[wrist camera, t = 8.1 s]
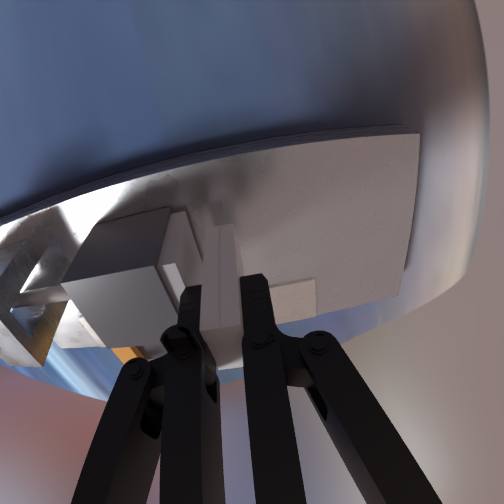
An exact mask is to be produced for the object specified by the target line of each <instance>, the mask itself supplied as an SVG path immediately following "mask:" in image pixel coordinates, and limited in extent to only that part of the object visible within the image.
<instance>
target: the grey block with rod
mask: <svg viewBox="0 0 504 504" xmlns="http://www.w3.org/2000/svg"><path fill="white" fill-rule="evenodd" d="M202 273H203V263H202V260H201V257H200V255H199V252H198V249H197V246H196V243H195V240H194V237H193V233H192V230H191V227H190V224H189V221H188V218H187V215H186V212H185V211H182V212H178V213H172V211H171V208H170V207H166V208H162V209H158V210H153V211H149V212H145V213H141V214H137V215H133V216H129V217H125V218H121V219H118V220H114V221H110V222H106V223H102V224H99V225H95V226H93V227H92V228H91V230H90V231H89V233H88V235H87V236H86V238H85V240H84V242H83V243H82V245H81V247H80V248H79V250H78V252H77V254H76V255H75V257H74V259H73V261H72V263H71V264H70V266H69V268H68V270H67V272H66V274H65V276H64V278H63V280H62V281H61V283H60V284H61V285H56V286H51V287H46V288H41V289H36V290H30V291H25V292H20V293H19V295H18V297H17V298H16V300H15V302H14V304H13V306H12V308H21V307H27V306H34V305H41V304H47V303H54V302H60V301H67V300H72V302H73V303H74V305H75V306H76V307H77V309H78V310H79V312H80V313H81V314H82V316H83V317H84V318H85V320H86V321H87V323H88V324H89V325H90V327H91V328H92V329H93V330H94V332H95V333H96V334H97V336H98V337H99V338H100V339H101V341H102V342H103V343H104V344H105V346H106V347H107V348H108V349H110V348H122V347H134V346H136V347H137V348H138V350H139V351H140V352H141V354H142V355H143V356H144V358H145V359H156V358H159V357H161V356H163V355H165V354H166V353H168V352H167V351H166V349H165V348H164V346H163V345H162V343H161V341H160V338H161V335H162V334H163V332H164V331H165V330H166V329H167V328H169V327H171V326H173V325H176V324H177V320H178V314H179V312H178V311H179V307H180V306H179V303H180V296H181V294H182V292H183V291H184V289H185V287H189V286H195V285H200V284H202Z"/></svg>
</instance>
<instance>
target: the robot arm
mask: <svg viewBox="0 0 504 504" xmlns="http://www.w3.org/2000/svg"><path fill="white" fill-rule="evenodd" d="M179 306H180V307H179V311H178V312H179V314H178V320H177V324H176V325H173V326H171V327H169V328H167V329H166V330H165V331H164V332H163V334H162V335H161V338H160V341H161V343H162V345H163V346H164V348H165V349H166V351H167V352H168V353H166V354H165V355H163V356H161V357H159V358H157V359H154V360H152V361H149V362H148V361H147V360H146V359H144V358H142V357H135V358H132V359H130V360H129V361H127V362H126V363H125V364H124V366H123V367H122V369H121V371H120V373H119V376H118V378H117V380H116V383H115V385H114V387H113V390H112V392H111V395H110V397H109V399H108V402H107V404H106V407H105V409H104V412H103V414H102V417H101V419H100V422H99V425H98V427H97V430H96V433H95V435H94V438H93V440H92V443H91V446H90V448H89V451H88V454H87V457H86V460H85V463H84V465H83V468H82V471H81V474H80V477H79V480H78V484H77V486H76V489H75V492H74V496H73V499H72V502H71V504H146V502H147V498H148V495H149V491H150V487H151V484H152V480H153V477H154V474H155V470H156V467H157V463H158V460H159V456H160V453H161V457H160V504H225V490H224V475H223V458H222V457H223V456H222V436H221V414H220V383H219V379H218V376H217V374H216V365H217V367H218V369H219V370H222V369H230V368H237V367H243V369H244V381H245V393H246V405H247V416H248V427H249V436H250V437H249V438H250V449H251V459H252V468H253V479H254V489H255V499H256V504H307V503H306V497H305V491H304V485H303V479H302V473H301V467H300V461H299V455H298V449H297V443H296V437H295V432H294V425H293V419H292V413H291V408H290V402H289V397H288V390H287V386H295V387H304V388H305V390H306V392H307V394H308V396H309V398H310V400H311V402H312V404H313V406H314V407H315V409H316V411H317V413H318V415H319V417H320V419H321V421H322V423H323V424H324V426H325V428H326V430H327V432H328V433H329V435H330V437H331V439H332V441H333V443H334V445H335V447H336V448H337V450H338V452H339V454H340V456H341V458H342V459H343V461H344V463H345V465H346V467H347V469H348V471H349V472H350V474H351V476H352V478H353V480H354V482H355V483H356V485H357V487H358V489H359V490H360V492H361V494H362V496H363V497H364V500H365V501H366V503H367V504H442V502H441V500H440V499H439V497H438V495H437V494H436V492H435V491H434V489H433V487H432V486H431V484H430V482H429V481H428V480H427V478H426V476H425V474H424V473H423V471H422V470H421V468H420V467H419V465H418V463H417V462H416V460H415V459H414V457H413V455H412V454H411V452H410V451H409V449H408V448H407V446H406V445H405V443H404V441H403V440H402V438H401V436H400V435H399V433H398V432H397V430H396V429H395V427H394V426H393V424H392V423H391V421H390V419H389V418H388V416H387V415H386V414H385V412H384V410H383V409H382V407H381V406H380V404H379V403H378V401H377V399H376V398H375V397H374V395H373V393H372V392H371V391H370V389H369V387H368V386H367V384H366V383H365V381H364V380H363V378H362V377H361V375H360V374H359V372H358V371H357V369H356V368H355V366H354V365H353V363H352V362H351V360H350V359H349V357H348V356H347V354H346V353H345V351H344V350H343V349H342V347H341V345H340V344H339V342H338V341H337V339H336V338H335V337H334V336H333V335H332V334H331V333H328V332H326V331H313V332H310V333H308V334H307V335H305V336H304V337H303V338H298V337H291V336H287V335H285V334H283V333H282V332H280V331H279V329H278V328H277V326H276V323H275V317H274V312H273V306H272V301H271V295H270V290H269V284H268V280H267V279H266V277H265V276H264V275H263V274H262V273H258V274H253V275H247V276H244V266H243V261H242V257H241V252H240V248H239V244H238V240H237V236H236V232H235V227H234V223H231V224H226V225H221V226H216V227H211V228H206V232H205V245H204V258H203V273H202V284H200V285H195V286H189V287H185V289H184V291H183V292H182V294H181V296H180V303H179Z"/></svg>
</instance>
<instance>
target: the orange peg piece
mask: <svg viewBox="0 0 504 504" xmlns="http://www.w3.org/2000/svg"><path fill="white" fill-rule="evenodd" d="M111 349H112V350H113V352H114V353H115V354H116V355H117V357H118V358H119V359H120V360H121V361H122V362H123V364H125V363H126V362H127V361H129V360H130V359H132V358H135V357H142V358H144V356H143V355H142V354H141V352H140V351H139V350H138V348H137V347H136V346H134V347H122V348H111ZM144 359H145V358H144ZM146 360H147V361H148V362H149V359H146Z"/></svg>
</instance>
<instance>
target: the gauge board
mask: <svg viewBox="0 0 504 504" xmlns="http://www.w3.org/2000/svg"><path fill="white" fill-rule="evenodd" d="M419 147H420V133H418V132H416V131H414V130H412V129H410V128H408V127H406V126H404V125H385V126H368V127H355V128H344V129H334V130H324V131H316V132H308V133H300V134H293V135H286V136H279V137H273V138H267V139H261V140H255V141H249V142H244V143H238V144H233V145H228V146H223V147H218V148H214V149H209V150H205V151H200V152H196V153H191V154H187V155H183V156H179V157H175V158H171V159H167V160H163V161H159V162H156V163H152V164H148V165H145V166H141V167H138V168H134V169H131V170H128V171H124V172H121V173H118V174H114V175H111V176H108V177H105V178H102V179H99V180H96V181H93V182H90V183H87V184H84V185H81V186H78V187H76V188H73V189H70V190H67V191H65V192H62V193H59V194H57V195H54V196H51V197H49V198H46V199H44V200H41V201H39V202H36V203H34V204H32V205H29V206H27V207H24V208H22V209H20V210H17V211H15V212H13V213H11V214H8V215H6V216H4V217H2V218H0V357H1V358H2V359H3V360H4V361H5V362H6V363H7V364H8V365H9V366H24V367H43V366H44V363H45V360H46V357H47V354H48V352H49V349H50V346H51V343H52V341H53V340H54V341H55V342H56V343H57V344H58V346H59V347H60V348H79V347H95V346H100V347H106V346H105V344H104V343H103V342H102V341H101V339H100V338H99V337H98V336H97V334H96V333H95V332H94V330H93V329H92V328H91V327H90V325H89V324H88V323H87V321H86V320H85V318H84V317H83V316H82V314H81V313H80V312H79V310H78V309H77V307H76V306H75V305H74V303H73V302H72V300H67V301H60V302H54V303H47V304H41V305H34V306H27V307H21V308H14V309H13V311H12V313H11V312H10V309H11V308H12V306H13V304H14V302H15V300H16V298H17V297H18V295H19V293H20V292H25V291H30V290H36V289H41V288H46V287H51V286H56V285H61V284H60V283H61V281H62V280H63V278H64V276H65V274H66V272H67V270H68V268H69V266H70V264H71V263H72V261H73V259H74V257H75V255H76V254H77V252H78V250H79V248H80V247H81V245H82V243H83V242H84V240H85V238H86V236H87V235H88V233H89V231H90V230H91V228H92V227H93V226H95V225H99V224H102V223H106V222H110V221H114V220H118V219H121V218H125V217H129V216H133V215H137V214H141V213H145V212H149V211H153V210H158V209H162V208H166V207H170V208H171V211H172V213H178V212H182V211H185V212H186V215H187V218H188V221H189V224H190V227H191V230H192V233H193V237H194V240H195V243H196V246H197V249H198V252H199V255H200V257H201V260H202V263H203V258H204V245H205V232H206V228H211V227H216V226H221V225H226V224H231V223H234V227H235V232H236V236H237V240H238V244H239V248H240V252H241V257H242V261H243V266H244V276H247V275H253V274H258V273H262V274H263V275H264V276H265V277H266V279H267V280H268V284H269V290H270V295H271V301H272V306H273V312H274V317H275V323H276V324H281V323H286V322H291V321H296V320H301V319H306V318H311V317H316V315H319V314H324V313H328V312H333V311H337V310H342V309H346V308H350V307H355V306H359V305H363V304H367V303H371V302H375V301H379V300H383V299H387V298H390V297H394V296H398V293H399V289H400V284H401V280H402V275H403V271H404V266H405V261H406V255H407V250H408V244H409V239H410V232H411V226H412V219H413V212H414V204H415V196H416V186H417V176H418V163H419Z"/></svg>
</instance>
